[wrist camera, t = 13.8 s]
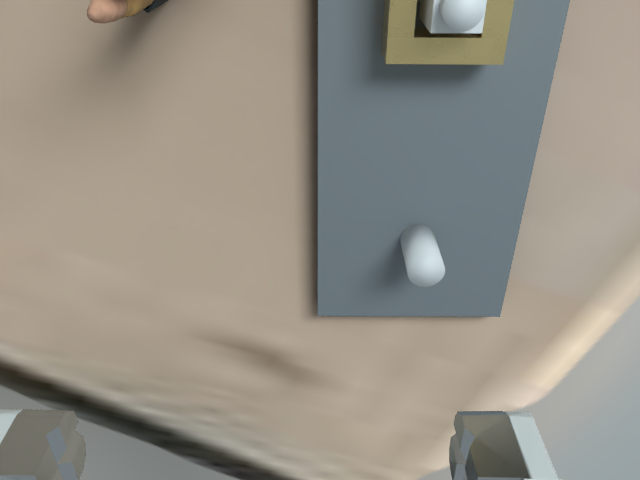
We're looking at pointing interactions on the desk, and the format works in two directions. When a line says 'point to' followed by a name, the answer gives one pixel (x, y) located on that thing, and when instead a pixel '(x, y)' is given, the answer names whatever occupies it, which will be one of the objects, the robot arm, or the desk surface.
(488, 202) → the jig board
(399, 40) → the brass collar
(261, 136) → the desk surface
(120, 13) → the ammunition clip
